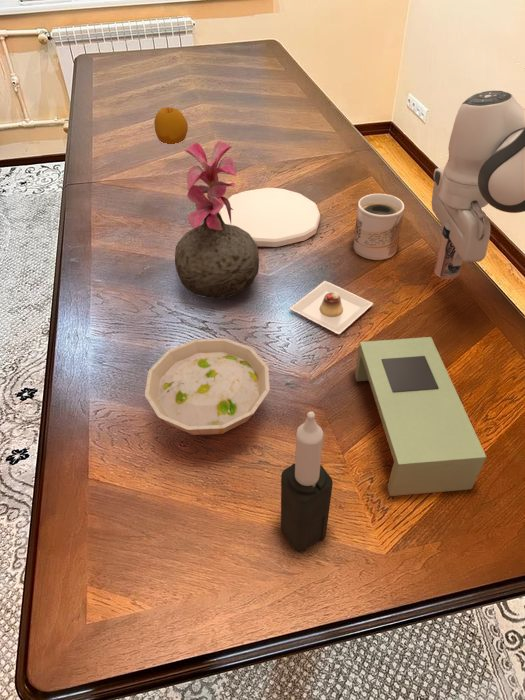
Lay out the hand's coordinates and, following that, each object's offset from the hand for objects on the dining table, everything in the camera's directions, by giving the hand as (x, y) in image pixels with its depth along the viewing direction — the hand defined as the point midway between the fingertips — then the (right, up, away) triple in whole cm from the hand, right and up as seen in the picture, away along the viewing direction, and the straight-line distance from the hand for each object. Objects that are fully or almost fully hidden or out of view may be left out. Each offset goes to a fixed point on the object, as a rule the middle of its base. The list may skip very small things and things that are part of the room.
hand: (450, 254), depth 105 cm
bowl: (-45, -30, -17) cm, 57 cm away
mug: (-11, +5, +18) cm, 22 cm away
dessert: (-23, -11, +2) cm, 26 cm away
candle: (-31, -43, -32) cm, 62 cm away
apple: (-64, +44, +60) cm, 98 cm away
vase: (-46, -6, +8) cm, 47 cm away
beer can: (0, -3, +3) cm, 5 cm away
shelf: (-14, -31, -19) cm, 39 cm away
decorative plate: (-35, +13, +27) cm, 47 cm away
